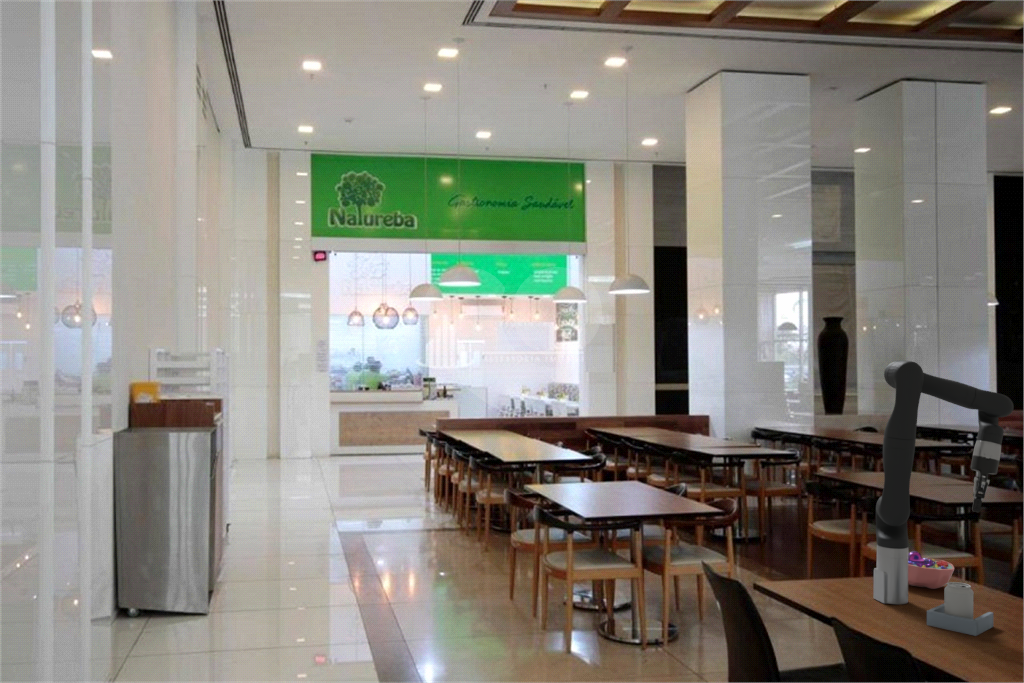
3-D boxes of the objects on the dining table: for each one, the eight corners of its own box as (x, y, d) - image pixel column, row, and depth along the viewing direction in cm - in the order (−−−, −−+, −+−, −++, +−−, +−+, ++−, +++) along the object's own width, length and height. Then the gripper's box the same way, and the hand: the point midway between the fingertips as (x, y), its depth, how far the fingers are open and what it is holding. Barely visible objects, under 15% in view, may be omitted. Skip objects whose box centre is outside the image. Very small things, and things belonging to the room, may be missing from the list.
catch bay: (945, 616, 272) (945, 602, 272) (993, 626, 262) (993, 612, 262) (926, 624, 263) (926, 610, 263) (975, 635, 253) (976, 621, 253)
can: (975, 631, 257) (975, 588, 257) (945, 628, 260) (945, 585, 260) (971, 624, 264) (971, 582, 264) (942, 621, 267) (943, 579, 267)
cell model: (932, 597, 293) (932, 561, 293) (881, 583, 311) (881, 549, 311) (967, 591, 301) (967, 556, 301) (915, 577, 319) (915, 545, 319)
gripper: (970, 455, 296) (960, 509, 294) (975, 452, 283) (964, 508, 282) (996, 461, 293) (986, 515, 291) (1002, 458, 281) (991, 514, 279)
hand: (975, 511), depth 286 cm, fingers closed
